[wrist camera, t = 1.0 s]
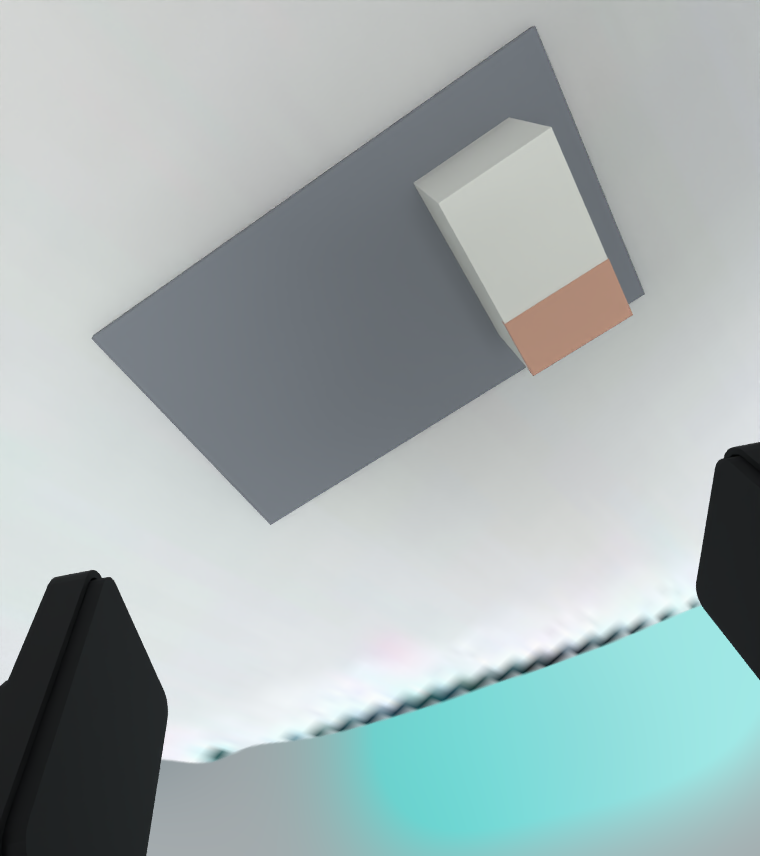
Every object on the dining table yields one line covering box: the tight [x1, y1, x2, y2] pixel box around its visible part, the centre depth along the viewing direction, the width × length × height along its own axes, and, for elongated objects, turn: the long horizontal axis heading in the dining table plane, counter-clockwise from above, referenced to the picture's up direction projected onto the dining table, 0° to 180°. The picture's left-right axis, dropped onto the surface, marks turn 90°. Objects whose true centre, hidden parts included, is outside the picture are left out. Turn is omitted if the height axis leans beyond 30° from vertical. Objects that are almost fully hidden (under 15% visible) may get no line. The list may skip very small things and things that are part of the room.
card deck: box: [414, 117, 633, 376], centre depth 29 cm, size 5×9×5 cm, turn 32°
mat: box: [92, 26, 645, 525], centre depth 33 cm, size 24×14×1 cm, turn 122°
